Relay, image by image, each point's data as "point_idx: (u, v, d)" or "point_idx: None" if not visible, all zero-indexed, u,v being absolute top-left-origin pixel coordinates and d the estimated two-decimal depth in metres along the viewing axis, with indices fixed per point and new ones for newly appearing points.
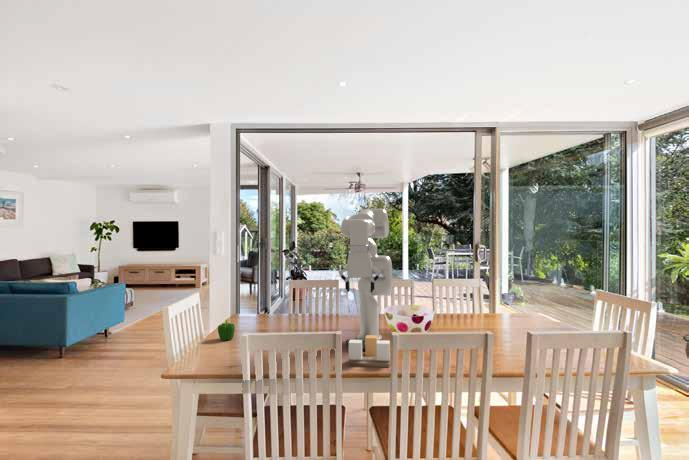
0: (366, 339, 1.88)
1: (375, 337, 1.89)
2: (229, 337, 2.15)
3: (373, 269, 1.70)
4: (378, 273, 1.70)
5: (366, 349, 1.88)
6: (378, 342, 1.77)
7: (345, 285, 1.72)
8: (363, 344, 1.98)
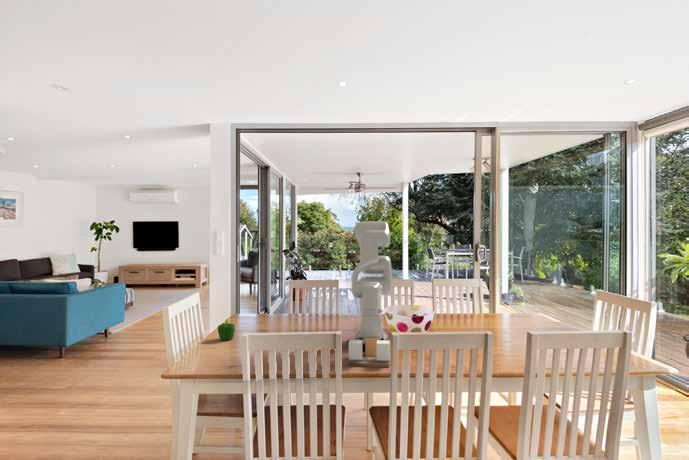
0: (366, 339, 1.88)
1: None
2: (229, 337, 2.15)
3: (382, 332, 1.88)
4: (385, 337, 1.88)
5: (366, 349, 1.88)
6: (378, 342, 1.77)
7: None
8: None
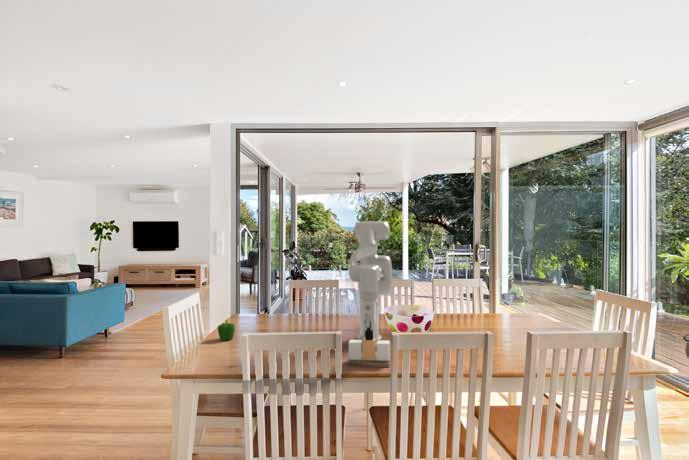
0: None
1: (366, 340, 1.77)
2: (229, 337, 2.15)
3: (366, 319, 1.74)
4: (366, 326, 1.74)
5: None
6: (378, 342, 1.77)
7: None
8: None
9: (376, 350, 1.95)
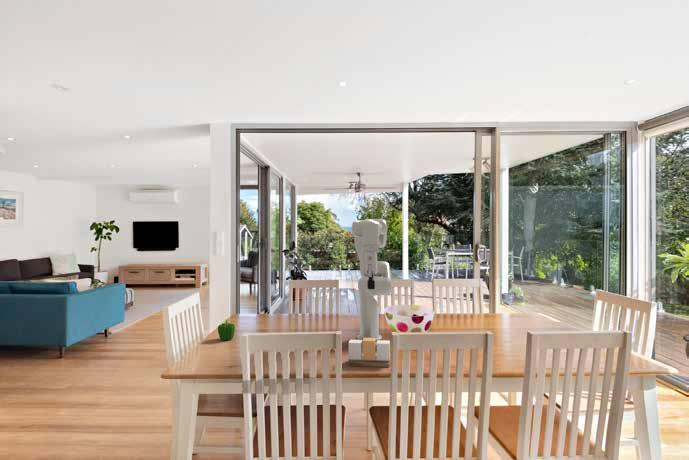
0: None
1: (366, 340, 1.77)
2: (229, 337, 2.15)
3: (368, 269, 1.88)
4: (369, 275, 1.88)
5: None
6: (378, 342, 1.77)
7: None
8: None
9: None
